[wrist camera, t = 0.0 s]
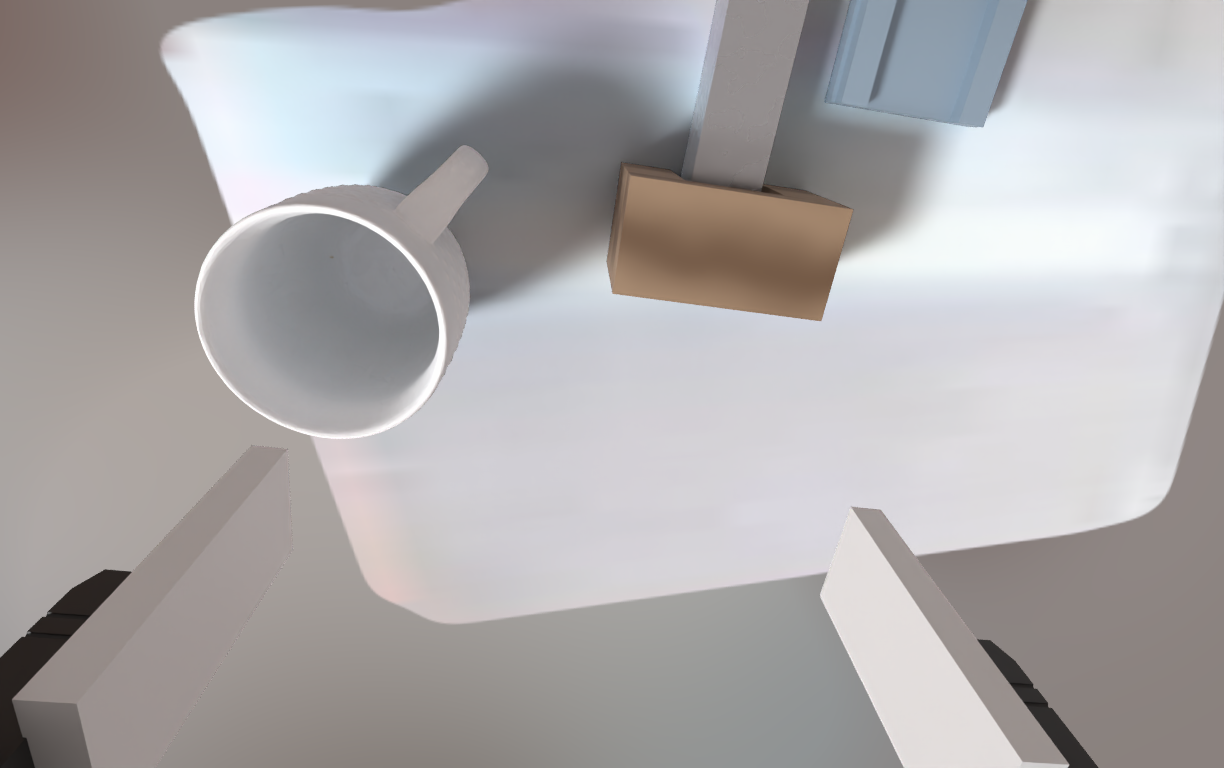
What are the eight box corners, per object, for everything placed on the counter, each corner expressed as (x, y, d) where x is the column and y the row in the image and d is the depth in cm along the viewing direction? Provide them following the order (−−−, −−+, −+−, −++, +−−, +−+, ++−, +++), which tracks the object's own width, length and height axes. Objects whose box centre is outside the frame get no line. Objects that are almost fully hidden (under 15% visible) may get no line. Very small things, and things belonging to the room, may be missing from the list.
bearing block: (621, 162, 39) (630, 175, 32) (805, 190, 40) (853, 209, 33) (606, 261, 41) (612, 293, 34) (781, 285, 42) (821, 321, 35)
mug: (415, 73, 36) (336, 61, 24) (564, 210, 40) (558, 257, 28) (271, 269, 40) (142, 340, 28) (417, 377, 44) (357, 482, 32)
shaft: (719, -19, 36) (735, -33, 32) (789, -5, 36) (813, -16, 32) (664, 251, 41) (673, 266, 38) (725, 261, 42) (739, 276, 38)
